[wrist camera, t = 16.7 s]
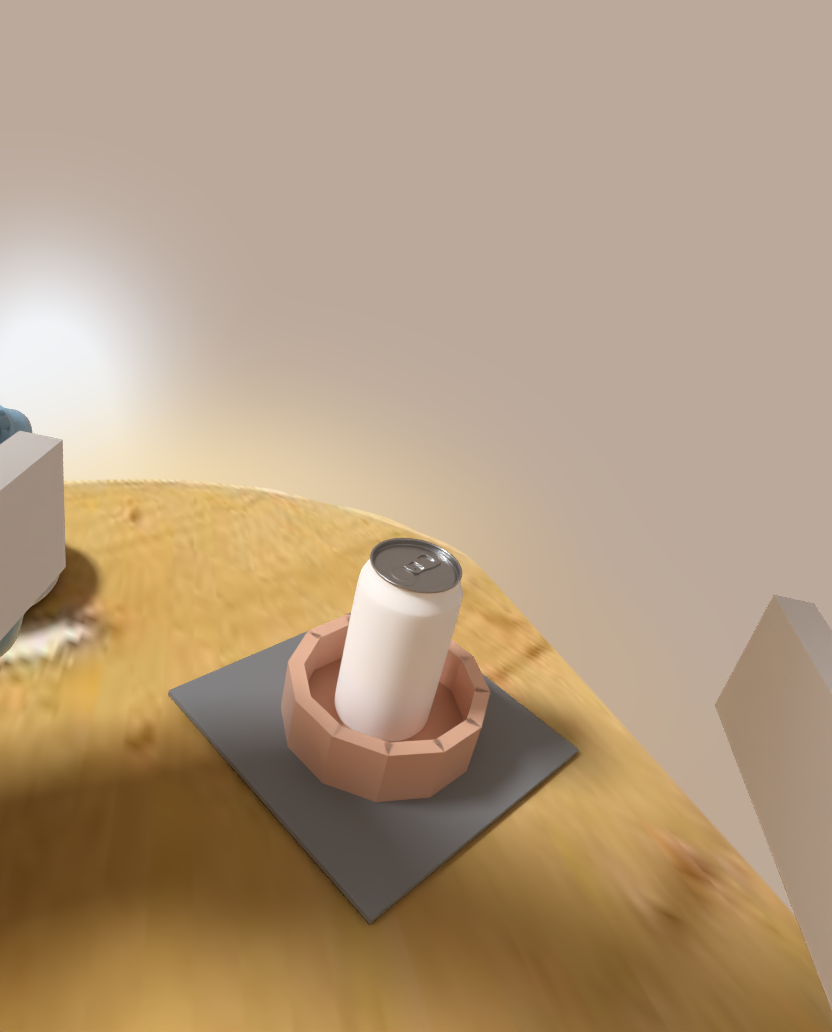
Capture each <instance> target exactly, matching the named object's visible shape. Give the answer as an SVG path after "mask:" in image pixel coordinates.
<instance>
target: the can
mask: <svg viewBox="0 0 832 1032" xmlns="http://www.w3.org/2000/svg"><path fill="white" fill-rule="evenodd" d="M461 578H462V569H461V566H460V564H459V562H458V561H457V560H456V558H455V557H454V556H453V555H451V554H450V553H449V552H448V551H446V550H445V549H443V548H441V547H439V546H437V545H435V544H432V543H429V542H426V541H423V540H418V539H412V538H395V539H389V540H386V541H383V542H381V543H379V544H378V545H376V546H375V547H374V548H373V550H372V552H371V555H370V559H369V560H368V562H367V563H366V564H365V565H364V567H363V568H362V570H361V572H360V575H359V579H358V583H357V588H356V592H355V597H354V602H353V607H352V612H351V616H350V621H349V626H348V631H347V636H346V641H345V646H344V651H343V656H342V661H341V666H340V671H339V676H338V681H337V686H336V692H335V699H334V703H335V708H336V711H337V714H338V716H339V717H340V719H341V720H342V722H343V723H344V724H345V725H346V726H347V727H348V728H349V729H352V730H354V731H357V732H360V733H363V734H366V735H369V736H372V737H375V738H377V739H380V740H383V741H386V742H398V741H402V740H405V739H408V738H410V737H412V736H414V735H416V734H417V733H418V732H420V731H421V730H422V729H423V727H424V726H425V724H426V722H427V720H428V717H429V714H430V710H431V707H432V704H433V700H434V697H435V694H436V690H437V687H438V683H439V680H440V676H441V673H442V670H443V666H444V663H445V659H446V656H447V652H448V649H449V645H450V642H451V638H452V635H453V631H454V628H455V624H456V621H457V617H458V614H459V610H460V606H461V602H462V596H463V593H462V586H461V582H460V580H461Z"/></svg>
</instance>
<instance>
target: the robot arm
mask: <svg viewBox="0 0 832 1032" xmlns="http://www.w3.org/2000/svg"><path fill="white" fill-rule="evenodd" d="M62 443H63V442H62V440H61V439H56V438H52V437H47V436H42V435H38V434H33V433H32V427H31V424H30V422H29V420H28V418H27V417H26V416H25V415H24V414H22V413H21V412H19V411H17V410H13V409H7V408H3V407H2V406H1V405H0V657H1V656H2V655H4V654H5V653H6V652H7V651H8V650H9V649H10V648H11V647H12V645H13V644H14V642H15V641H16V639H17V637H18V634H19V631H20V628H21V624H22V620H23V615H24V614H25V612H26V611H27V610H28V609H29V608H30V607H31V606H32V605H33V603H34V602H35V601H36V600H37V599H38V598H39V597H40V596H41V594H42V593H43V592H44V591H45V590H46V589H47V588H48V586H49V585H50V584H51V583H52V582H53V581H54V580H55V579H56V577H57V576H58V575H59V574H60V573H61V572H62V571H63V570H64V568H65V567H66V558H65V519H64V481H63V444H62ZM715 707H716V709H717V712H718V715H719V717H720V720H721V722H722V725H723V728H724V730H725V733H726V735H727V738H728V741H729V743H730V745H731V748H732V751H733V754H734V756H735V759H736V761H737V764H738V767H739V769H740V772H741V775H742V777H743V780H744V783H745V785H746V788H747V790H748V793H749V796H750V798H751V801H752V803H753V806H754V809H755V811H756V814H757V816H758V819H759V822H760V824H761V827H762V830H763V832H764V835H765V837H766V840H767V843H768V845H769V848H770V850H771V853H772V856H773V858H774V861H775V863H776V866H777V869H778V871H779V874H780V876H781V879H782V882H783V884H784V887H785V890H786V892H787V895H788V897H789V900H790V903H791V905H792V908H793V911H794V913H795V916H796V919H797V921H798V924H799V926H800V929H801V932H802V934H803V937H804V939H805V942H806V945H807V947H808V950H809V953H810V955H811V958H812V960H813V963H814V966H815V968H816V971H817V973H818V976H819V979H820V981H821V984H822V987H823V989H824V992H825V994H826V997H827V1000H828V1002H829V1005H830V1008H831V1010H832V630H831V629H830V627H829V626H828V624H827V623H826V621H825V620H824V618H823V617H822V615H821V613H820V612H819V611H818V609H817V607H816V606H815V604H814V603H809V602H804V601H800V600H795V599H791V598H786V597H781V596H777V595H774V596H773V597H772V599H771V601H770V603H769V605H768V607H767V609H766V610H765V612H764V614H763V616H762V618H761V620H760V622H759V623H758V625H757V627H756V629H755V631H754V633H753V635H752V637H751V639H750V640H749V642H748V644H747V646H746V648H745V650H744V652H743V654H742V655H741V657H740V659H739V661H738V663H737V665H736V667H735V668H734V671H733V672H732V674H731V676H730V678H729V680H728V681H727V683H726V685H725V687H724V689H723V691H722V693H721V695H720V696H719V698H718V700H717V702H716V704H715Z"/></svg>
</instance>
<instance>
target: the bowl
mask: <svg viewBox="0 0 832 1032" xmlns="http://www.w3.org/2000/svg"><path fill="white" fill-rule="evenodd" d="M350 616H351V615H344V616H341V617H339V618H337V619H334V620H332V621H330V622H327V623H325V624H323V625H320V626H318V627H316V628H313V629H311V630H309V631H307V633H306V635H305V636H304V638H303V639H302V641H301V642H300V644H299V645H298V647H297V648H296V650H295V651H294V653H293V655H292V656H291V658H290V659H289V661H288V665H287V671H286V677H285V684H284V690H283V696H282V703H281V710H282V716H283V723H284V729H285V735H286V741H287V747H288V748H289V749H290V750H291V751H292V752H293V753H294V754H295V755H296V756H297V757H298V758H299V759H300V760H301V761H302V762H303V763H304V764H305V765H306V767H307V768H308V769H309V770H310V771H311V772H312V773H313V774H314V775H315V776H316V777H317V778H318V779H319V780H320V781H321V782H322V783H324V784H327V785H329V786H332V787H335V788H338V789H340V790H343V791H346V792H349V793H352V794H354V795H357V796H360V797H363V798H366V799H368V800H371V801H374V802H385V801H396V800H407V799H418V798H429V797H432V796H433V795H434V794H436V793H437V792H439V791H440V790H441V789H443V788H444V787H446V786H447V785H448V784H450V783H451V782H452V781H454V780H455V779H457V778H458V777H459V776H461V775H462V774H464V773H465V772H466V771H467V769H468V766H469V763H470V760H471V757H472V754H473V751H474V748H475V745H476V742H477V739H478V736H479V733H480V730H481V727H482V723H483V719H484V715H485V711H486V707H487V703H488V699H489V695H490V690H489V688H488V686H487V684H486V682H485V679H484V677H483V675H482V673H481V671H480V669H479V667H478V665H477V663H476V661H475V659H474V657H473V656H472V655H471V654H470V653H468V652H467V651H466V650H464V649H463V648H462V647H461V646H459V645H458V644H457V643H455V642H454V641H453V640H451V642H450V645H449V649H448V652H447V656H446V659H445V663H444V666H443V670H442V673H441V676H440V680H439V683H438V687H437V690H436V694H435V697H434V700H433V704H432V707H431V710H430V714H429V717H428V720H427V722H426V724H425V726H424V727H423V729H422V730H421V731H420V732H418V733H417V734H416V735H414V736H412V737H410V738H408V739H405V740H402V741H398V742H386V741H383V740H380V739H377V738H375V737H372V736H369V735H366V734H363V733H360V732H357V731H354V730H352V729H349V728H348V727H347V726H346V725H345V724H344V723H343V722H342V720H341V719H340V717H339V716H338V714H337V711H336V708H335V703H334V699H335V692H336V686H337V681H338V676H339V671H340V666H341V661H342V656H343V651H344V646H345V641H346V636H347V631H348V626H349V621H350Z"/></svg>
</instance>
